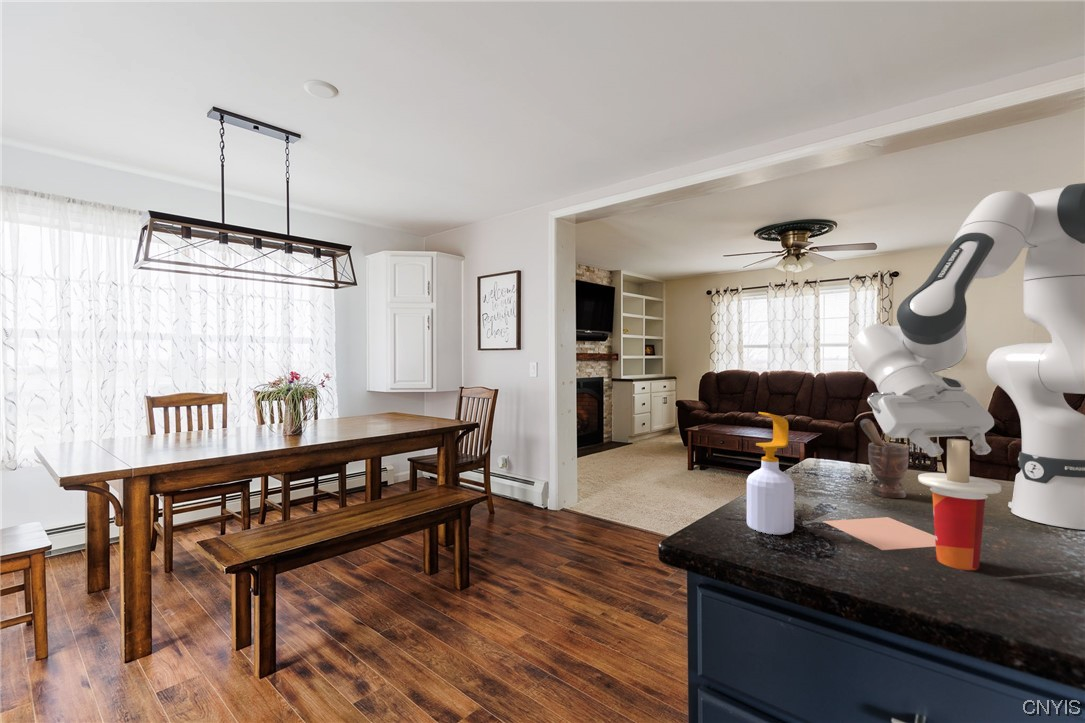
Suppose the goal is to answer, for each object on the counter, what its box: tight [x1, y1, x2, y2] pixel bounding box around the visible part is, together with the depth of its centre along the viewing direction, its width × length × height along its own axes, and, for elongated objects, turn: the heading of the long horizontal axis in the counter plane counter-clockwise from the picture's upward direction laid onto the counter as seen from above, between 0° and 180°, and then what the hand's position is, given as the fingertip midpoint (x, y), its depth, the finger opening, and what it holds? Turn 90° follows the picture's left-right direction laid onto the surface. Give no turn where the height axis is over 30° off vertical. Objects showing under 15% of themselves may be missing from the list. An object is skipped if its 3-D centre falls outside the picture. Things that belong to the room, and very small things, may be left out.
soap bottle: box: [746, 411, 795, 536], centre depth 105 cm, size 9×9×25 cm
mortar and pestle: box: [859, 418, 910, 499], centre depth 128 cm, size 12×9×20 cm
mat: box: [822, 516, 936, 551], centre depth 101 cm, size 16×16×1 cm
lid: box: [917, 438, 1002, 495], centre depth 86 cm, size 11×11×8 cm
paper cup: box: [929, 487, 989, 571], centre depth 86 cm, size 8×8×14 cm
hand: (961, 453), depth 85 cm, fingers open, 8 cm apart
